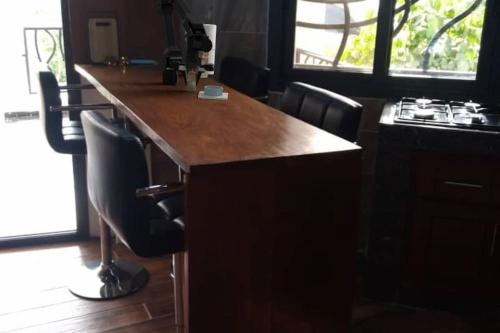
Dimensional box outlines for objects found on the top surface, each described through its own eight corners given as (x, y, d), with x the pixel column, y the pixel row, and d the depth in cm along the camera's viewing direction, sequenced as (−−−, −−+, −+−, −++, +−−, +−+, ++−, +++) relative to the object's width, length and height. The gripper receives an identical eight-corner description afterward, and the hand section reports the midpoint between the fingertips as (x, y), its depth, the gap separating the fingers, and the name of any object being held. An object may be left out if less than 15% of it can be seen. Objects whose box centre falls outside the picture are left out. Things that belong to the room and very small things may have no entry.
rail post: (186, 91, 239) (186, 72, 236) (186, 89, 243) (187, 71, 240) (195, 91, 239) (196, 73, 237) (196, 90, 243) (196, 72, 240)
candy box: (208, 78, 279) (209, 47, 274) (201, 78, 276) (202, 47, 272) (198, 75, 285) (199, 45, 281) (191, 75, 283) (192, 45, 278)
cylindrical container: (211, 74, 290) (214, 25, 283) (198, 73, 292) (200, 24, 284) (215, 73, 297) (217, 25, 290) (202, 71, 298) (204, 24, 291)
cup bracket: (197, 98, 226) (198, 88, 224) (199, 92, 237) (200, 84, 236) (227, 100, 226) (227, 90, 225) (227, 94, 238) (228, 86, 236)
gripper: (168, 49, 227) (167, 87, 232) (214, 53, 228) (212, 90, 233) (171, 47, 238) (170, 83, 243) (215, 50, 239) (213, 86, 243)
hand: (191, 86), depth 240 cm, fingers closed on rail post, 4 cm apart
